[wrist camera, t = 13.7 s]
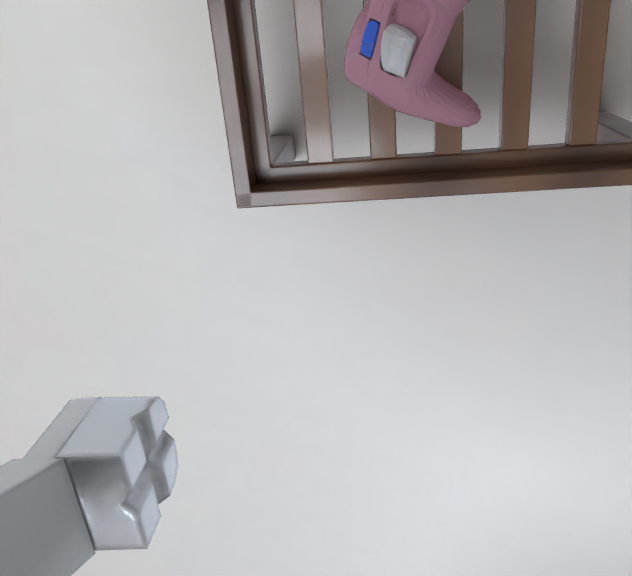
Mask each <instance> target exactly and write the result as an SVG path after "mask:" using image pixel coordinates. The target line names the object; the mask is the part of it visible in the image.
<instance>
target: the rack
mask: <svg viewBox="0 0 632 576" xmlns="http://www.w3.org/2000/svg"><path fill="white" fill-rule="evenodd" d="M368 2H369V0H363V8H364V7H365V6H366V4H367V3H368ZM610 2H611V0H577V1H576V13H575V25H574V38H573V50H572V62H571V74H570V86H569V99H568V111H567V123H566V135H565V143H560V144H545V145H531V146H528V138H529V120H530V103H531V85H532V68H533V50H534V33H535V15H536V0H504V14H503V41H502V68H501V94H500V121H499V148H486V149H472V150H462V127H455V126H450V125H446V124H442V123H438V122H434V152H427V153H413V154H398V155H397V150H396V119H395V110H394V109H392V108H391V107H389V106H387V105H385V104H384V103H382V102H381V101H379V100H378V99H377V98H375V97H374V96H372V95H371V94H370V93H368V112H369V132H370V153H371V156H368V157H353V158H339V159H334V149H333V135H332V122H331V108H330V95H329V81H328V68H327V55H326V41H325V28H324V14H323V1H322V0H293V4H294V14H295V25H296V36H297V47H298V58H299V69H300V79H301V90H302V101H303V112H304V123H305V133H306V144H307V155H308V161H294V160H295V151H294V141H293V135H279V136H270V130H269V122H268V113H267V104H266V96H265V87H264V79H263V70H262V61H261V53H260V44H259V36H258V27H257V18H256V10H255V1H254V0H207V3H208V10H209V17H210V24H211V31H212V38H213V45H214V51H215V58H216V65H217V72H218V79H219V86H220V93H221V99H222V106H223V113H224V120H225V127H226V134H227V141H228V148H229V154H230V161H231V168H232V175H233V182H234V189H235V196H236V203H237V208H252V207H267V206H284V205H301V204H317V203H334V202H351V201H368V200H385V199H402V198H419V197H436V196H453V195H470V194H487V193H504V192H521V191H538V190H554V189H571V188H588V187H605V186H622V185H632V122H630V121H628V120H625V119H623V118H621V117H618V116H616V115H613V114H611V113H609V112H599V109H600V99H601V89H602V80H603V70H604V60H605V51H606V41H607V31H608V22H609V12H610ZM434 71H435V72H436V73H437V74H438V75H439V76H440V77H441V78H442V79H443V80H445V81H446V82H448V83H450V84H451V85H453V86H454V87H456V88H457V89H459V90H461V91H462V73H463V9H462V11H461V12H460V13H459V14H458V16H457V17H456V20H455V22H454V24H453V27H452V29H451V32H450V34H449V36H448V39H447V41H446V43H445V46H444V48H443V50H442V52H441V55H440V57H439V59H438V61H437V63H436V65H435V67H434Z"/></svg>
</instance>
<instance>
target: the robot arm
mask: <svg viewBox="0 0 632 576" xmlns="http://www.w3.org/2000/svg"><path fill="white" fill-rule="evenodd" d="M168 418H169V416H168V413H167V409H166V406H165V402H164V401H163V400H162V399H161V398H160V397H159V396H158V397H104V398H101V397H91V398H76V399H73V400H70V401H69V402H68V403H67V404H66V405H65V407H64V408H63V409H62V410H61V412H60V413H59V414H58V415H57V417H56V418H55V419H54V420H53V422H52V423H51V424H50V425H49V427H48V428H47V429H46V430H45V432H44V433H43V434H42V435H41V437H40V438H39V439H38V440H37V441H36V443H35V444H34V445H33V446H32V448H31V449H30V450H29V451H28V453H27V454H26V455H25V456H24V458H23V459H13V460H11V461H9V462H7V463H6V464H4V465H2V466H0V576H71V575H72V574H73V573H74V572H75V571H76V570H78V569H79V568H80V567H81V566H82V565H83V564H84V563H85V562H86V561H87V560H88V559H90V558H91V557H92V556H93V555H94V554H95V550H123V549H147V548H148V545H149V543H150V541H151V538H152V536H153V534H154V531H155V529H156V527H157V525H158V522H159V520H160V518H161V514H160V510H159V506H158V504H160V503H161V502H162V501H163V500H165V499H166V498H167V497H169V496H170V494H171V492H172V489H173V487H174V484H175V480H176V473H177V467H178V462H177V450H176V445H175V441H174V439H173V438H172V437H171V436H170V435H169V434H168V433H167V432H166V431H165V430H164V427H165V425H166V423H167V420H168Z"/></svg>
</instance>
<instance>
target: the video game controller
mask: <svg viewBox="0 0 632 576" xmlns="http://www.w3.org/2000/svg"><path fill="white" fill-rule="evenodd" d="M468 2H469V0H369V2H368V3H367V4H366V6H365V7H364V8H363V10H362V11H361V13H360V15H359V16H358V18H357V20H356V22H355V24H354V26H353V28H352V31H351V34H350V37H349V40H348V44H347V49H346V55H345V71H346V76H347V78H348V79H349V81H350V82H352V83H353V84H355V85H357V86H358V87H360V88H362V89H363V90H365V91H367V92H368V93H370V94H371V95H372V96H374V97H375V98H377V99H378V100H379V101H381V102H382V103H384V104H385V105H387V106H389V107H391V108H392V109H394V110H397V111H399V112H402V113H404V114H407V115H411V116H415V117H419V118H422V119H426V120H430V121H434V122H438V123H442V124H446V125H450V126H455V127H469V126H472V125H474V124H477V122H478V121H479V120H480V118H481V116H480V110H479V107H478V105H477V104H476V103H475V102H474V101H473V99H472V98H471V97H470V96H469V95H467V94H465V93H464V92H462V91H461V90H459V89H457V88H456V87H454V86H453V85H451V84H450V83H448V82H446V81H445V80H443V79H442V78H441V77H440V76H439V75H438V74H437V73H436V72H435V71H434V67H435V65H436V63H437V61H438V59H439V57H440V55H441V52H442V50H443V48H444V46H445V43H446V41H447V39H448V36H449V34H450V32H451V29H452V27H453V24H454V22H455V20H456V17H457V16H458V14H459V13H460V12H461V11H462V9H463V8H464V7H465V6H466V4H467V3H468Z"/></svg>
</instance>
